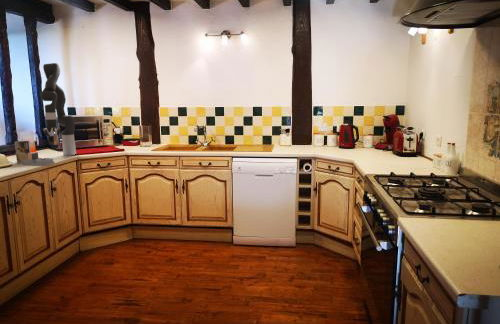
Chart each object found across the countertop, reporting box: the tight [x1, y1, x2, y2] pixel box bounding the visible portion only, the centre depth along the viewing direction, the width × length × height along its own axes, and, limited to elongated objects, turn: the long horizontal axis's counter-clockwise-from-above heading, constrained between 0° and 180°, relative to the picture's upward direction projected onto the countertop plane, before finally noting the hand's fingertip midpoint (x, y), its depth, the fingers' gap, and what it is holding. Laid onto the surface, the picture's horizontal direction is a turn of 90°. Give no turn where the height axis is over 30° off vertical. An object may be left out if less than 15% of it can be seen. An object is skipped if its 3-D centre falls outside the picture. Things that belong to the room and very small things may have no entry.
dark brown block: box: [47, 134, 59, 146], centre depth 279 cm, size 4×6×7 cm, turn 66°
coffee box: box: [14, 140, 32, 164], centre depth 275 cm, size 9×6×16 cm
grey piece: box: [22, 151, 56, 166], centre depth 271 cm, size 11×17×8 cm, turn 79°
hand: (53, 141), depth 279 cm, fingers closed on dark brown block, 3 cm apart
